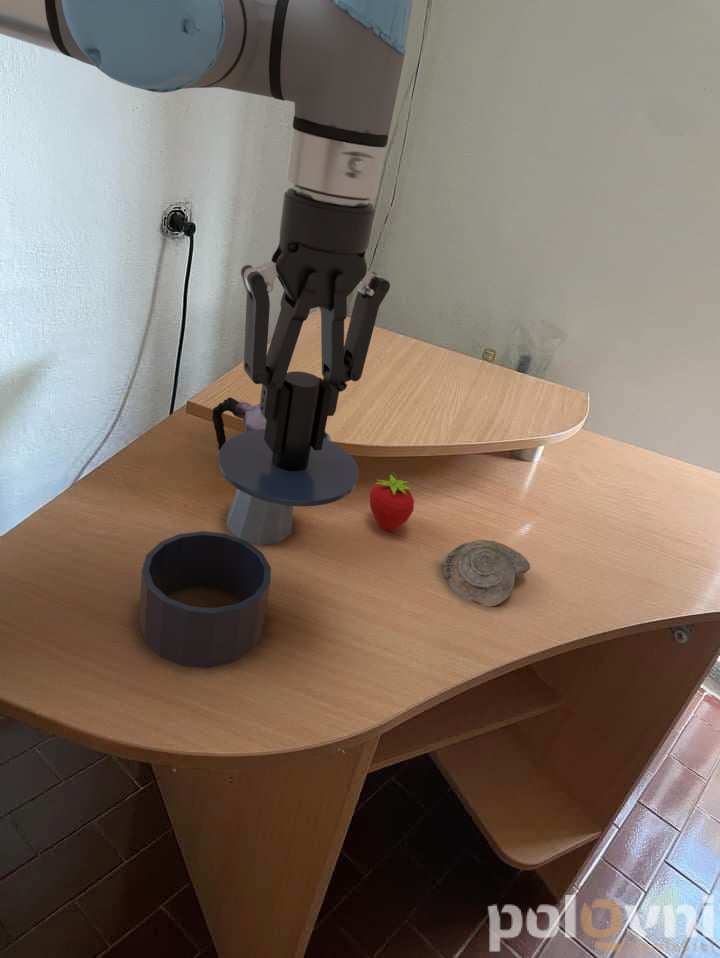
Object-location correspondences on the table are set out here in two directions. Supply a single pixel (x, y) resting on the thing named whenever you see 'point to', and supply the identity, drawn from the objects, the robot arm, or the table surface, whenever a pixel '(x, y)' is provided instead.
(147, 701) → the table surface
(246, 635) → the pot
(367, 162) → the robot arm
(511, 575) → the fossilized seashell
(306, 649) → the table surface
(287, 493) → the pot lid
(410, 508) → the strawberry
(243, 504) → the moka pot
